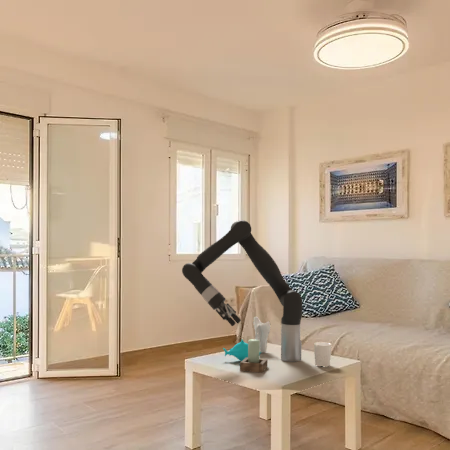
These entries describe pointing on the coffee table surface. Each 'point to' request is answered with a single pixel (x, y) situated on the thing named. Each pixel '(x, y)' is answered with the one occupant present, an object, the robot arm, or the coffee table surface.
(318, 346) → the white cup
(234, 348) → the toy shark
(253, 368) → the socket base
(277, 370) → the coffee table surface
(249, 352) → the post
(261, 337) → the shell sculpture
